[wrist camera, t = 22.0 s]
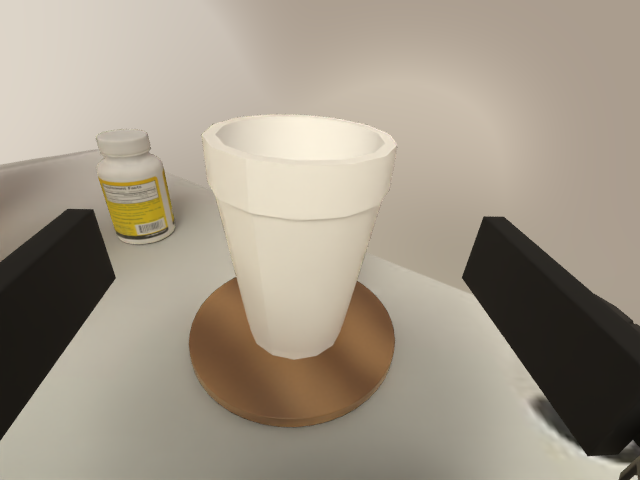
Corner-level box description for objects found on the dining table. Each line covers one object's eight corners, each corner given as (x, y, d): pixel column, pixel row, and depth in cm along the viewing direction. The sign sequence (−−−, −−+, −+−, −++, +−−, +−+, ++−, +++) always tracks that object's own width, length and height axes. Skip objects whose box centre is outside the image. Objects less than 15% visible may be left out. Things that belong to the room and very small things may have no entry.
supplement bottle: (139, 216, 36) (115, 124, 31) (185, 223, 36) (169, 130, 31) (103, 242, 32) (69, 138, 27) (156, 250, 31) (131, 145, 26)
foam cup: (368, 292, 27) (397, 124, 20) (356, 396, 19) (397, 178, 12) (255, 272, 28) (247, 108, 21) (200, 361, 20) (158, 148, 13)
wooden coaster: (295, 490, 15) (296, 482, 15) (150, 331, 23) (147, 323, 23) (427, 328, 25) (430, 320, 24) (293, 252, 32) (293, 245, 32)
